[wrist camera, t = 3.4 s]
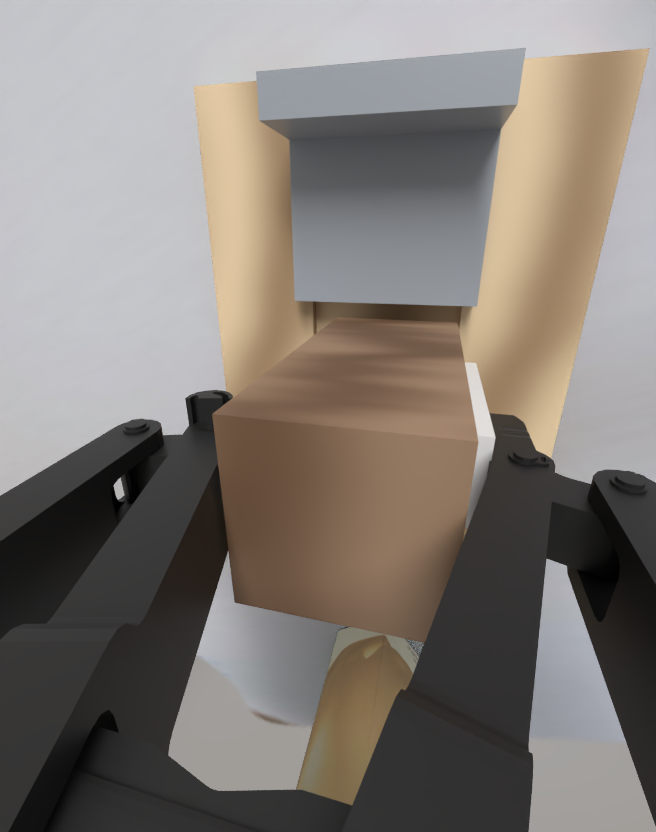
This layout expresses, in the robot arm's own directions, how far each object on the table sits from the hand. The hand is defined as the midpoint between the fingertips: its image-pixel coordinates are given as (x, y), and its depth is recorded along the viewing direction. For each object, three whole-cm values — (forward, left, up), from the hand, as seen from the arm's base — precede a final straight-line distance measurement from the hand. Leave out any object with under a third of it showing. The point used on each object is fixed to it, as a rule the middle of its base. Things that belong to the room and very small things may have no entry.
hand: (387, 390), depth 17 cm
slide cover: (+1, -7, -2) cm, 7 cm away
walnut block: (0, 0, -2) cm, 2 cm away
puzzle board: (+1, +1, -4) cm, 5 cm away
